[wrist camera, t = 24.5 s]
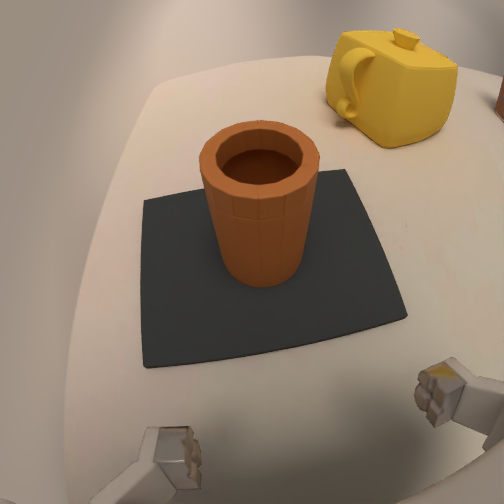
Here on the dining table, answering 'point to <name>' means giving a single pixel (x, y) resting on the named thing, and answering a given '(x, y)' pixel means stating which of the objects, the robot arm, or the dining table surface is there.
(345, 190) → the mat
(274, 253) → the jar
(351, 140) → the dining table surface
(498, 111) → the coffee cup
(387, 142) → the teapot
